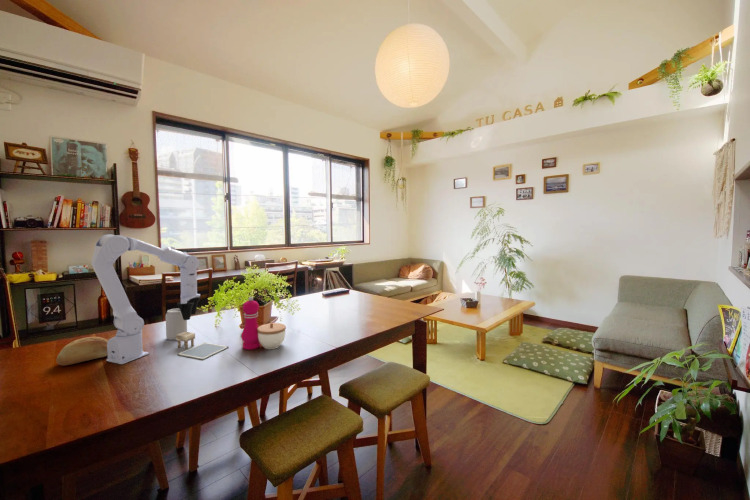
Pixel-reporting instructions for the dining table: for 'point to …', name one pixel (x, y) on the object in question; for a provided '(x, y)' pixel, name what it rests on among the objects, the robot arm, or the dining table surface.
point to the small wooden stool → (185, 339)
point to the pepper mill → (250, 325)
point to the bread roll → (82, 350)
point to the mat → (203, 351)
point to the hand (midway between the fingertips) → (189, 316)
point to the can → (175, 323)
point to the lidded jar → (271, 335)
